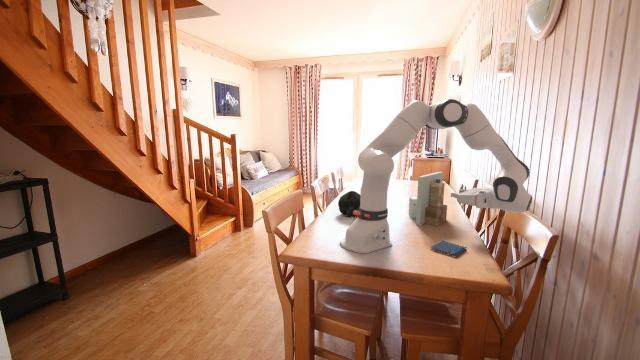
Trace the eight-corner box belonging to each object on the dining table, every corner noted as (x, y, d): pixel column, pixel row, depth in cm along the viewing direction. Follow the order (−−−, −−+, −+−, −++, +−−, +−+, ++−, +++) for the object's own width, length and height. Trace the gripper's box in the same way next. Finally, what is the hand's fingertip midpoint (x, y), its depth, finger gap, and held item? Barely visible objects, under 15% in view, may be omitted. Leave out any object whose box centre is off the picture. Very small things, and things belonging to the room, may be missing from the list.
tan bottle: (437, 208, 144) (439, 180, 141) (429, 206, 147) (430, 179, 144) (442, 206, 147) (444, 178, 145) (434, 204, 151) (436, 177, 148)
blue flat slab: (441, 243, 123) (441, 239, 122) (467, 251, 115) (467, 246, 114) (428, 250, 116) (429, 245, 115) (455, 259, 108) (456, 254, 108)
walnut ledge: (435, 225, 142) (436, 210, 141) (424, 223, 146) (425, 207, 145) (446, 220, 150) (447, 205, 149) (435, 217, 154) (436, 203, 153)
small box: (423, 215, 159) (424, 196, 157) (426, 218, 154) (427, 199, 152) (408, 215, 160) (409, 196, 158) (410, 218, 155) (411, 198, 153)
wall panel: (419, 225, 143) (422, 177, 139) (415, 224, 145) (418, 176, 140) (440, 215, 158) (443, 172, 153) (436, 215, 159) (439, 171, 155)
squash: (352, 199, 171) (342, 183, 162) (374, 205, 161) (364, 188, 152) (340, 219, 166) (328, 203, 157) (361, 226, 156) (350, 210, 146)
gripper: (495, 186, 136) (464, 183, 146) (479, 194, 122) (446, 189, 132) (494, 200, 137) (463, 195, 147) (478, 209, 123) (445, 203, 133)
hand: (455, 192), depth 139 cm, fingers open, 8 cm apart
